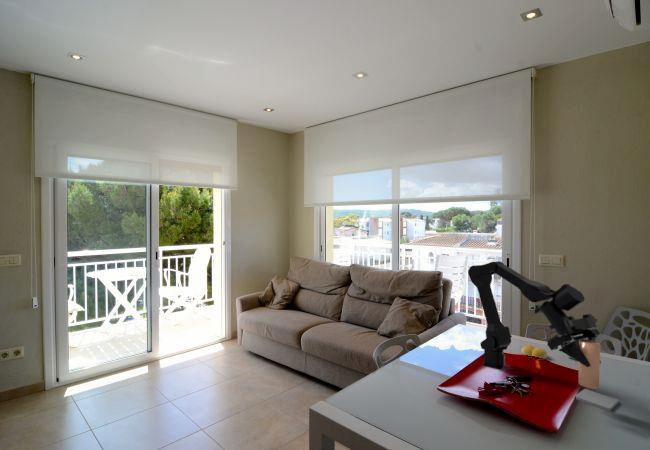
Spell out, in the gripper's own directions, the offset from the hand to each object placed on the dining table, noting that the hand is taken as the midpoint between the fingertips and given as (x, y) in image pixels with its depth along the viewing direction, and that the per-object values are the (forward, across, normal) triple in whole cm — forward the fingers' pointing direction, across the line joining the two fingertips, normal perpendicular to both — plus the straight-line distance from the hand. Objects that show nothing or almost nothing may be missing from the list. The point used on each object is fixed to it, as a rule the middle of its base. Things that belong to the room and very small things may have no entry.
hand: (594, 365), depth 105 cm
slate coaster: (+8, +7, +11) cm, 15 cm away
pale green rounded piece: (-10, +36, +29) cm, 47 cm away
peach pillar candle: (+4, 0, +6) cm, 7 cm away
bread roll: (-15, +25, +35) cm, 45 cm away
